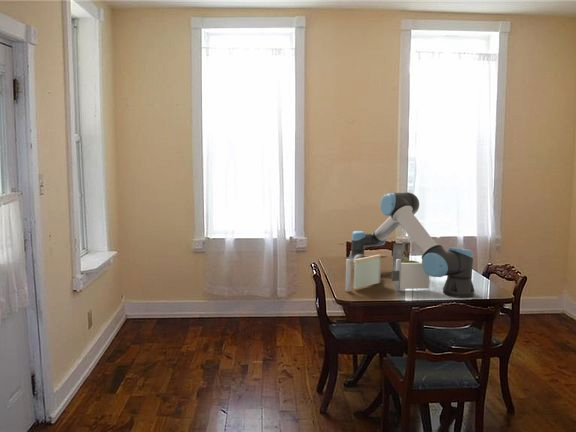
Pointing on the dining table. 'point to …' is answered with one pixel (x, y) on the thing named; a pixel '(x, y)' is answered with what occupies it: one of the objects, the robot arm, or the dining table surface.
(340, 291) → the dining table surface
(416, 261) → the plant pot
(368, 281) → the gate
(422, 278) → the fence
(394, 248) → the coffee box
